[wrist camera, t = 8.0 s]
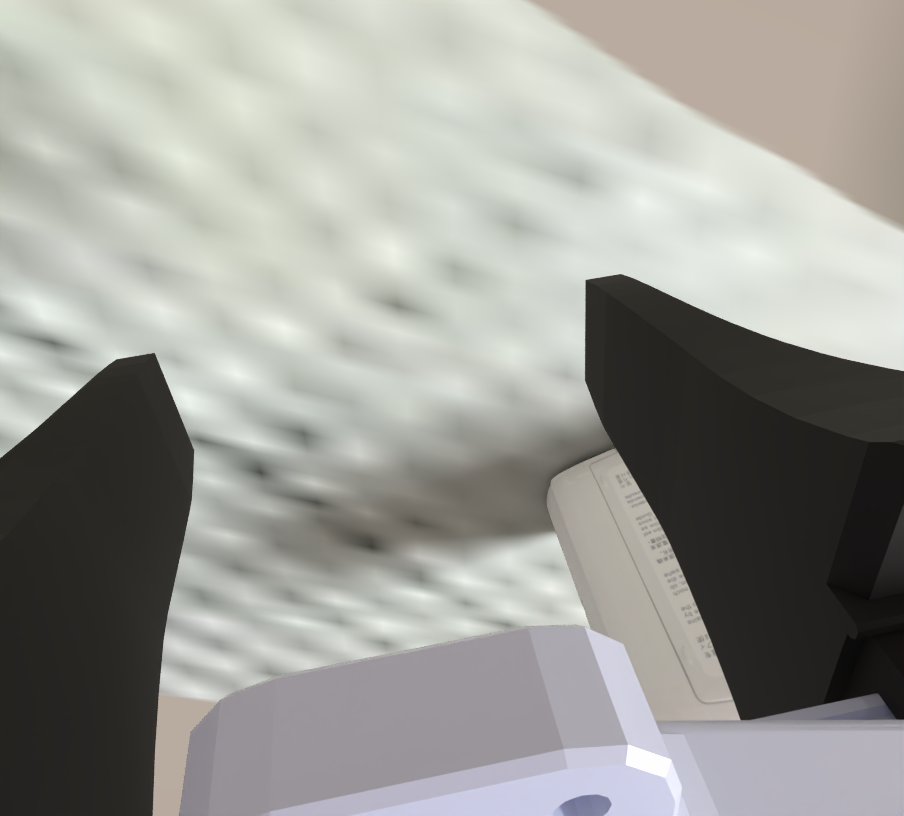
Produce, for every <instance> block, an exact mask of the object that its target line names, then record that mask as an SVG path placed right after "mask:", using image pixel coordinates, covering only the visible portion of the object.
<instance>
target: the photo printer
mask: <svg viewBox="0 0 904 816" xmlns="http://www.w3.org/2000/svg"><path fill="white" fill-rule="evenodd" d="M550 483H551V485H550V487H549V490H548V493H547V508H548V512H549V515H550V517H551V520H552V523H553V526H554V529H555V531H556V534H557V537H558V540H559V542H560V545H561V548H562V550H563V553H564V556H565V559H566V561H567V564H568V567H569V570H570V572H571V575H572V578H573V581H574V584H575V586H576V589H577V592H578V595H579V597H580V600H581V603H582V605H583V607H584V610H585V613H586V617H587V619H588V622H589V625H590V627H591V630H593V631H595V632H597V633H600V634H602V635H604V636H606V637H609V638H611V639H613V640H615V641H618V642H620V643H622V644H623V645H624V647H625V650H626V652H627V654H628V657H629V659H630V662H631V664H632V666H633V669H634V671H635V674H636V676H637V679H638V681H639V683H640V686H641V688H642V691H643V693H644V695H645V698H646V700H647V703H648V705H649V708H650V710H651V712H652V715H653V717H654V720H655V721H688V720H740V717H739V715H738V712H737V709H736V706H735V703H734V700H733V698H732V695H731V692H730V690H729V687H728V685H727V682H726V679H725V677H724V674H723V671H722V669H721V666H720V664H719V661H718V658H717V656H716V653H715V650H714V648H713V645H712V643H711V640H710V637H709V635H708V633H707V630H706V628H705V625H704V623H703V620H702V618H701V615H700V613H699V611H698V608H697V606H696V603H695V601H694V598H693V596H692V594H691V591H690V589H689V586H688V584H687V582H686V579H685V577H684V575H683V573H682V570H681V568H680V566H679V563H678V561H677V559H676V557H675V554H674V552H673V550H672V547H671V545H670V543H669V541H668V539H667V537H666V535H665V533H664V531H663V529H662V527H661V525H660V523H659V521H658V519H657V518H656V516H655V514H654V513H653V511H652V509H651V507H650V506H649V504H648V502H647V501H646V499H645V497H644V496H643V494H642V492H641V490H640V489H639V487H638V485H637V484H636V482H635V480H634V479H633V477H632V475H631V473H630V472H629V470H628V468H627V467H626V465H625V463H624V462H623V460H622V458H621V456H620V455H619V453H618V451H617V449H616V448H615V449H612V450H609V451H607V452H605V453H602V454H600V455H598V456H595V457H593V458H590V459H588V460H586V461H584V462H581V463H579V464H577V465H575V466H573V467H571V468H569V469H567V470H565V471H563V472H561V473H559V474H558V475H556V476H555V477H554V478H553V479H552V480H551V482H550Z"/></svg>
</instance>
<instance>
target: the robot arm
mask: <svg viewBox="0 0 904 816" xmlns="http://www.w3.org/2000/svg"><path fill="white" fill-rule="evenodd" d="M585 381H586V384H587V387H588V389H589V392H590V394H591V397H592V400H593V402H594V405H595V407H596V410H597V412H598V415H599V417H600V420H601V422H602V424H603V426H604V428H605V430H606V432H607V434H608V435H609V437H610V439H611V441H612V442H613V444H614V446H615V448H616V449H617V451H618V453H619V455H620V456H621V458H622V460H623V462H624V463H625V465H626V467H627V468H628V470H629V472H630V473H631V475H632V477H633V479H634V480H635V482H636V484H637V485H638V487H639V489H640V490H641V492H642V494H643V496H644V497H645V499H646V501H647V502H648V504H649V506H650V507H651V509H652V511H653V513H654V514H655V516H656V518H657V519H658V521H659V523H660V525H661V527H662V529H663V531H664V533H665V535H666V537H667V539H668V541H669V543H670V545H671V547H672V550H673V552H674V554H675V557H676V559H677V561H678V563H679V566H680V568H681V570H682V573H683V575H684V577H685V579H686V582H687V584H688V586H689V589H690V591H691V594H692V596H693V598H694V601H695V603H696V606H697V608H698V611H699V613H700V615H701V618H702V620H703V623H704V625H705V628H706V630H707V633H708V635H709V637H710V640H711V643H712V645H713V648H714V650H715V653H716V656H717V658H718V661H719V664H720V666H721V669H722V671H723V674H724V677H725V679H726V682H727V685H728V687H729V690H730V692H731V695H732V698H733V700H734V703H735V706H736V709H737V712H738V715H739V717H740V720H688V721H655V720H654V717H653V715H652V712H651V710H650V708H649V705H648V703H647V700H646V698H645V695H644V693H643V691H642V688H641V686H640V683H639V681H638V679H637V676H636V674H635V671H634V669H633V666H632V664H631V662H630V659H629V657H628V654H627V652H626V650H625V647H624V645H623V644H622V643H620V642H618V641H615V640H613V639H611V638H609V637H606V636H604V635H602V634H600V633H597V632H595V631H593V630H591V629H588V628H586V627H583V626H579V625H550V626H524V627H519V628H514V629H509V630H504V631H499V632H494V633H489V634H484V635H479V636H474V637H469V638H464V639H459V640H454V641H450V642H445V643H440V644H435V645H430V646H425V647H420V648H415V649H410V650H405V651H400V652H395V653H390V654H385V655H380V656H375V657H370V658H365V659H360V660H355V661H350V662H345V663H340V664H335V665H330V666H325V667H320V668H315V669H310V670H305V671H300V672H295V673H290V674H285V675H280V676H277V677H274V678H271V679H269V680H266V681H264V682H261V683H258V684H256V685H253V686H250V687H248V688H245V689H243V690H240V691H237V692H235V693H232V694H230V695H228V696H226V697H225V698H223V699H221V700H220V701H219V702H218V703H217V704H216V705H215V706H214V708H213V709H212V710H211V711H210V712H209V713H208V714H207V715H206V716H205V717H204V718H203V719H202V721H201V722H200V723H199V724H198V725H197V726H196V727H195V728H194V729H193V730H192V731H191V732H190V740H189V747H188V754H187V761H186V769H185V776H184V783H183V790H182V797H181V805H180V812H179V816H904V371H900V370H894V369H888V368H884V367H879V366H874V365H869V364H865V363H860V362H855V361H851V360H846V359H842V358H838V357H834V356H830V355H826V354H822V353H818V352H815V351H812V350H808V349H805V348H802V347H798V346H795V345H792V344H788V343H785V342H782V341H779V340H776V339H773V338H770V337H767V336H764V335H761V334H759V333H756V332H754V331H751V330H748V329H746V328H743V327H741V326H738V325H736V324H733V323H730V322H728V321H726V320H723V319H721V318H719V317H716V316H714V315H712V314H709V313H707V312H705V311H703V310H700V309H698V308H696V307H694V306H692V305H689V304H687V303H685V302H683V301H681V300H679V299H677V298H674V297H672V296H670V295H668V294H666V293H664V292H662V291H660V290H658V289H655V288H653V287H651V286H649V285H647V284H645V283H642V282H640V281H638V280H636V279H633V278H631V277H628V276H625V275H622V274H619V275H613V276H607V277H601V278H595V279H589V280H586V319H585ZM193 465H194V449H193V447H192V444H191V442H190V439H189V437H188V434H187V432H186V429H185V427H184V424H183V422H182V419H181V417H180V415H179V412H178V410H177V407H176V405H175V402H174V400H173V397H172V395H171V392H170V390H169V387H168V385H167V383H166V380H165V378H164V375H163V373H162V370H161V368H160V365H159V363H158V360H157V358H156V355H155V353H152V354H146V355H140V356H134V357H128V358H122V359H117V360H115V361H114V362H112V363H111V364H109V365H108V366H107V367H106V368H104V369H103V370H102V371H101V372H99V373H98V374H97V375H96V376H95V377H94V378H92V379H91V380H90V381H89V382H88V383H87V384H86V385H85V386H83V387H82V388H81V389H80V390H79V391H78V392H77V393H76V394H75V395H73V396H72V397H71V398H70V399H69V400H68V401H67V402H66V403H65V404H63V405H62V406H61V407H60V408H59V409H58V410H57V411H56V412H54V413H53V414H52V415H51V416H50V417H49V418H48V419H47V420H46V421H44V422H43V423H42V424H41V425H40V426H39V427H38V428H37V429H35V430H34V431H33V432H32V433H31V434H29V435H28V436H27V437H26V438H24V439H23V440H22V441H21V442H20V443H18V444H17V445H16V446H15V447H14V448H12V449H11V450H10V451H9V452H7V453H6V454H5V455H4V456H3V457H1V458H0V816H152V814H153V813H152V811H153V788H154V787H153V786H154V760H155V740H156V726H157V711H158V710H157V709H158V695H159V684H160V673H161V662H162V651H163V640H164V633H165V627H166V621H167V615H168V610H169V605H170V601H171V596H172V591H173V587H174V582H175V578H176V573H177V568H178V564H179V559H180V554H181V550H182V545H183V541H184V536H185V531H186V526H187V521H188V516H189V511H190V506H191V501H192V486H193Z"/></svg>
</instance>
